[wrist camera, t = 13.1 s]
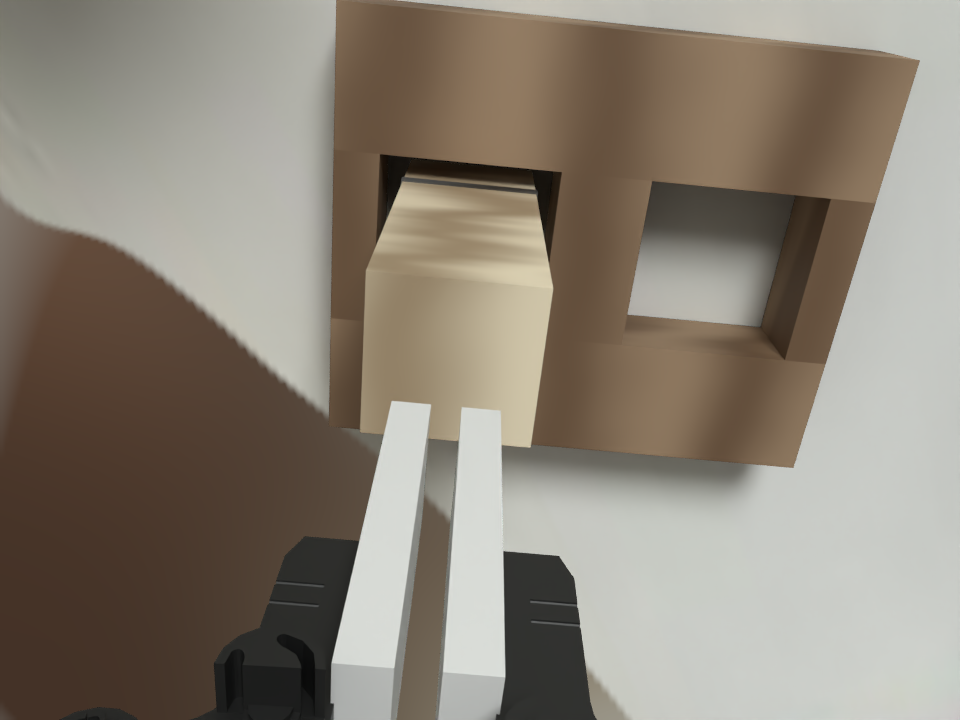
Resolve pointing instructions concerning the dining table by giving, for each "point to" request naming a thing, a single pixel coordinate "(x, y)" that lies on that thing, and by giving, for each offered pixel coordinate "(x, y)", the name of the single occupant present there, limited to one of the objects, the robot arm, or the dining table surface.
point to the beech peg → (458, 300)
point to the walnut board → (623, 202)
